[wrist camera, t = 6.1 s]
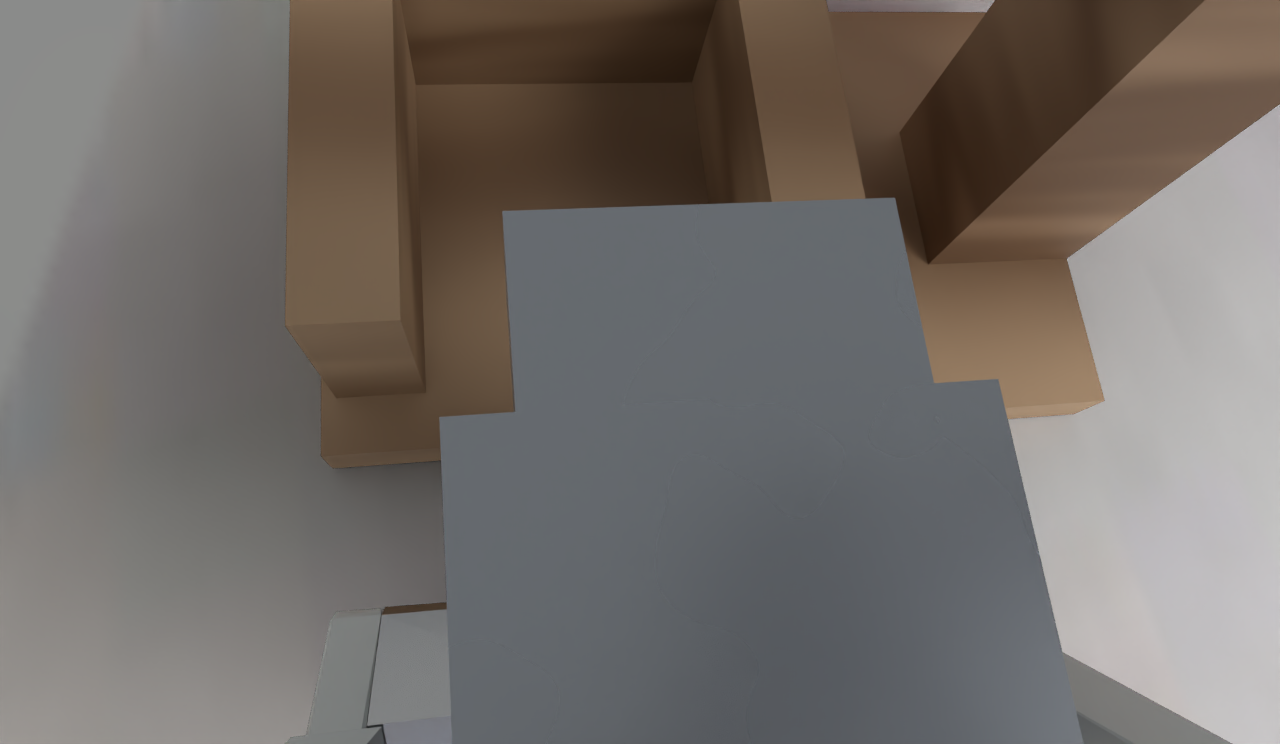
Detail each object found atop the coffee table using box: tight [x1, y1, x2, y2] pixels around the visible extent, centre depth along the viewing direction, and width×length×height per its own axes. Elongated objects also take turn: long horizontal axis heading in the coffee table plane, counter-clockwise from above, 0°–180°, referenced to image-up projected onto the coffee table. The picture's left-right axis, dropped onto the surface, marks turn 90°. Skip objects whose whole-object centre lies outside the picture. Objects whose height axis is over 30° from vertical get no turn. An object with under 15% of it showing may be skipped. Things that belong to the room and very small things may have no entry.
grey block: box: [439, 198, 1084, 744], centre depth 10 cm, size 6×4×10 cm
